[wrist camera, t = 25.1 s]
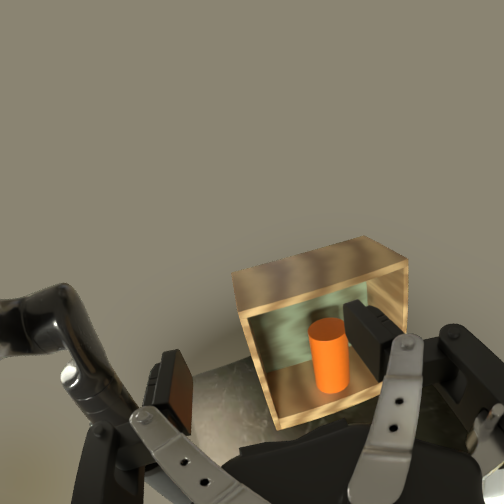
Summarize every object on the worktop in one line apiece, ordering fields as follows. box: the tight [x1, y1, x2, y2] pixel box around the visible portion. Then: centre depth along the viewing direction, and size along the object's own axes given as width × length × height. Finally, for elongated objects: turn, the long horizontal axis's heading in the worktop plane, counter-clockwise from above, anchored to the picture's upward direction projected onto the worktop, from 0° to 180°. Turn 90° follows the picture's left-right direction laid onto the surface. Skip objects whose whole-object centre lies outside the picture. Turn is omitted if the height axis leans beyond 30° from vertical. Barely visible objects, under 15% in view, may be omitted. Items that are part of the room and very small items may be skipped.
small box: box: [482, 469, 504, 504], centre depth 11 cm, size 8×6×10 cm
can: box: [308, 318, 350, 393], centre depth 39 cm, size 6×6×11 cm
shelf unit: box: [231, 236, 408, 430], centre depth 40 cm, size 22×12×23 cm, turn 98°
